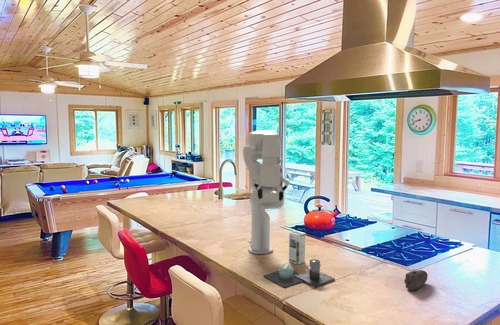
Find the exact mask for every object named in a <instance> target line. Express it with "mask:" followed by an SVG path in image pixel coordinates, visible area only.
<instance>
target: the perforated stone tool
mask: <svg viewBox="0 0 500 325" xmlns="http://www.w3.org/2000/svg"><path fill="white" fill-rule="evenodd" d="M427 280H428V272H427V271H425V270H423V269H422V270H421V269H419V270H418V269H417V270H413V271H409V272H407V273H405V278H404V281H403V282H404V285H405V288H406V289H407V290H409V291H411V292H413V291H416V290H419V289H420V288H421V287H423V286H424V285H425V283H426V282H427Z"/></svg>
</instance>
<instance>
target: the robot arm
mask: <svg viewBox="0 0 500 325" xmlns="http://www.w3.org/2000/svg"><path fill="white" fill-rule="evenodd" d="M280 144H281V138H280V135H279V134H278V133H277V131H275V130H273V129H272V130H270V129H269V130H267V129H266V130H263V129H261V130H259V129H258V130H254V131H250V132H249V133H248V135H247V145H245V146H244V147H243V150H242V155H243V161H244V164H245V166H246V168H247V170H248V174H249V181H250V183H249V184H250V188H251V189H252V192H251V193H250V195H249V203H250V212H251V231H250V232H251V238H250V240H248V243H249V244H250V246H248V252H250V253H251V254H253V255H254V254H255V255H267V254H270V253H272V252H273V250H274V248H273V247H272V246H271V245H270V238H271V236H270V234H271V232H270V231H271V230H270V229H271V217H270V215H269V213H267V211H266V210H269V209H270V210H273V209H274V210H275V209H281V208H282V207H284V205H285V198H284V197H285V196H284V194H285V192H284V191H286V189H287V188H288V187H289V186H290V180H287V179H286V178H284V176H283V175H284V174H283V167H282V164H280V163H283V159H282V158H281V157H280V148H281V147H280ZM258 160H262V162H261V163H260V161H258ZM283 184H284V186H283Z"/></svg>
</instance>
